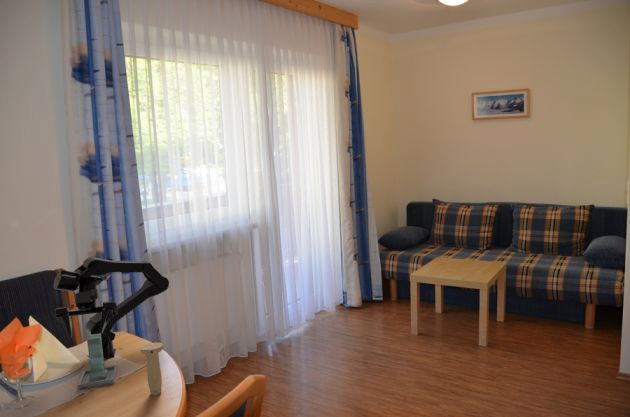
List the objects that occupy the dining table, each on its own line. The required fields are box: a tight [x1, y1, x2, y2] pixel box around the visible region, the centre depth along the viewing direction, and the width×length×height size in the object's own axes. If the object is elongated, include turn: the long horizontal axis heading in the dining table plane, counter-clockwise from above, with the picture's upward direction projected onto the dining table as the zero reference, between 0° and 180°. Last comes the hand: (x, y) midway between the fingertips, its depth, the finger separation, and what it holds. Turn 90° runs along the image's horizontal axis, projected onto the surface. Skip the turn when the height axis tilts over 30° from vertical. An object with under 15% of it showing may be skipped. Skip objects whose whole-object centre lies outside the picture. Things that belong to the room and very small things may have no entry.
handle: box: [139, 342, 164, 396], centre depth 151 cm, size 5×6×15 cm
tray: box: [77, 364, 118, 390], centre depth 162 cm, size 10×10×2 cm
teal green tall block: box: [86, 333, 108, 382], centre depth 161 cm, size 5×5×14 cm
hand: (86, 335), depth 164 cm, fingers open, 9 cm apart
